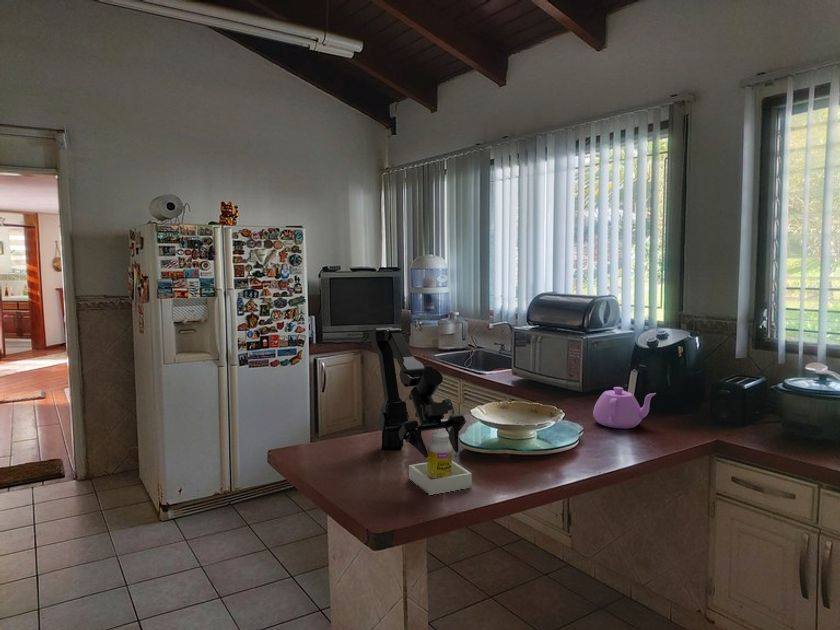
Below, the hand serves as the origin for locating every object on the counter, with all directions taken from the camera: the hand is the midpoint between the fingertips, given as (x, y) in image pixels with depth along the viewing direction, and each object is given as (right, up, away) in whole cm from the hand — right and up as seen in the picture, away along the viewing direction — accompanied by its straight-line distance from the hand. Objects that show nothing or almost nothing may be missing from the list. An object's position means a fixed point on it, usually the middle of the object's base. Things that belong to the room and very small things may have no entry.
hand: (442, 454), depth 157 cm
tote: (-1, -8, +2) cm, 9 cm away
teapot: (+69, -3, +58) cm, 90 cm away
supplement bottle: (-1, -8, +2) cm, 8 cm away
